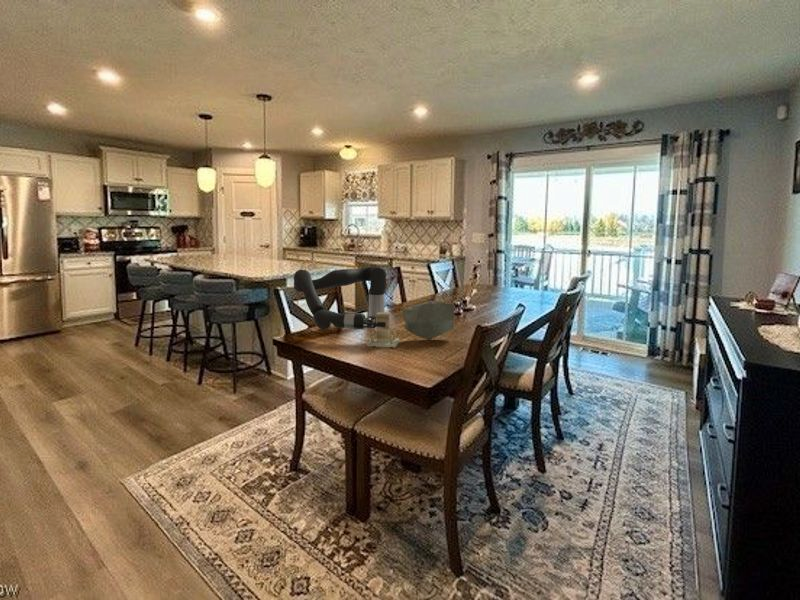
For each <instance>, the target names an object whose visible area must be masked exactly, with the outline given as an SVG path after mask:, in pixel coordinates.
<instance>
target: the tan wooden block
mask: <svg viewBox="0 0 800 600" xmlns="http://www.w3.org/2000/svg"><path fill="white" fill-rule="evenodd" d="M377 322H385V323H386V326H385V327H376V331H377V342H386V343H389V341H390V335H391V312H386V311H385V312H378V313H377Z"/></svg>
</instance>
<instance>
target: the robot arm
mask: <svg viewBox="0 0 800 600" xmlns="http://www.w3.org/2000/svg"><path fill="white" fill-rule="evenodd" d="M359 282H370V287H369V289H368V317H366V315H365V314H364V313H355V312H354V313H344V312H343V313H341V312H340V313H338V312H336V311H332V310H330V309H329V310H328V309H325V306H324V304H323V302H322V300H321V299H320V296H319V295H318V293H317V290H322V289H329V288H337V287H346V286H350V285H353V284H356V283H359ZM293 289H294V290H295V291H296V292H299V293H303V295H304V299H305V302H306V305H307V307H308V309H309V312H310V313H311V314H312V316H313V318H314V322H315V323H316V326H317V327H318V328H319V329H320V330H327V329H329V328H330V327H331V324H332V325H333V326H334V327H335V328H343V329H350V330H351V329H352V330H353V329H354V330H364V329H366V328H367V329H376V328H377V327H385V326H386V323H385V322H377V313H378V312H386V311H385V310H386V306H385V305H386V304H385V303H386V302H385V301H386V299H385V297H386V294H385V292H386V289H387V272H386V270H385V269H384V268H383V267H381V266H379V265H371V266H367V267H362V268H346V269H335V270H332V271H330V272H328V273H326V274H324V275H322V277H319V278H316V279H312V275H311V273H310V272H309V270H306V269H298V270H297V271H295V273H294V274H293Z"/></svg>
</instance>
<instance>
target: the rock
mask: <svg viewBox="0 0 800 600" xmlns="http://www.w3.org/2000/svg"><path fill="white" fill-rule="evenodd" d="M455 309H456V308H455V305H454V304H453V303H448V302H445V301H439V300H438V301H433V300H428V301H426V302H422V303H419V304H416V305H412V306H406V307H404V308H403V309H402V313H401V315H402V319H403V321H404V323H405V324H404V325H403V327H404V330H406V331H407V332H408V333H410V334H412V335H414V336H416V337H418V338H419V337H420V338H422V339H425V340H428V339H429V340H430V339H431V340H432V339H433V338H438V337H439V336H443V335H444V334H446V333H448V332H450V331H452V330H454V326H455Z"/></svg>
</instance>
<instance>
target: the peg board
mask: <svg viewBox="0 0 800 600" xmlns="http://www.w3.org/2000/svg"><path fill="white" fill-rule="evenodd" d="M396 334H397V332H396V331H394V330H393V331H392V334H390V341H389V343H386V342H377V329H376V330H374V331H373V334H370V339H369V340H368V341H367V343H366V347H372V346H376V347H375V348H390V347H393V349H394V348H397V346H398V344H399V342H400V338H398V337H396Z"/></svg>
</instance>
